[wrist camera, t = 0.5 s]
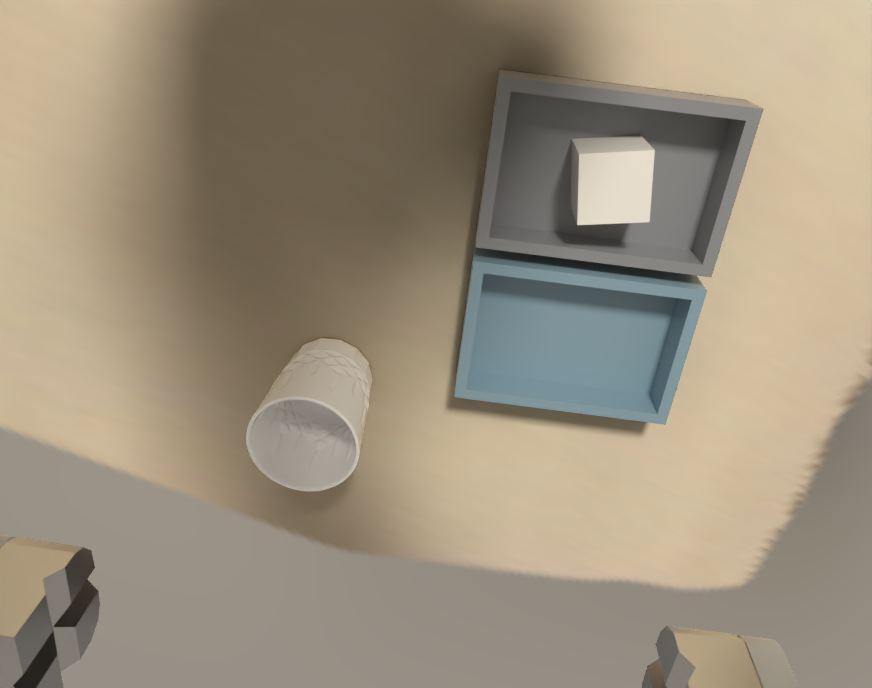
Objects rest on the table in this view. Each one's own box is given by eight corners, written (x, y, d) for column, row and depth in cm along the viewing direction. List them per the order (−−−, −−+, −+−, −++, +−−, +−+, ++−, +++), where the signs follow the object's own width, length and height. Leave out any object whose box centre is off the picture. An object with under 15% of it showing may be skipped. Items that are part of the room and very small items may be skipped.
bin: (474, 244, 52) (473, 261, 49) (693, 271, 52) (706, 290, 49) (456, 374, 57) (454, 397, 54) (655, 399, 57) (665, 424, 54)
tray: (499, 69, 46) (499, 76, 43) (745, 99, 46) (763, 108, 43) (476, 230, 52) (475, 247, 48) (697, 258, 51) (711, 277, 48)
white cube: (571, 138, 48) (579, 153, 44) (641, 135, 47) (654, 150, 43) (570, 204, 50) (577, 225, 46) (636, 202, 49) (649, 222, 45)
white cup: (339, 431, 60) (313, 510, 52) (264, 375, 58) (223, 447, 50) (399, 372, 57) (382, 445, 49) (321, 311, 55) (289, 375, 47)
